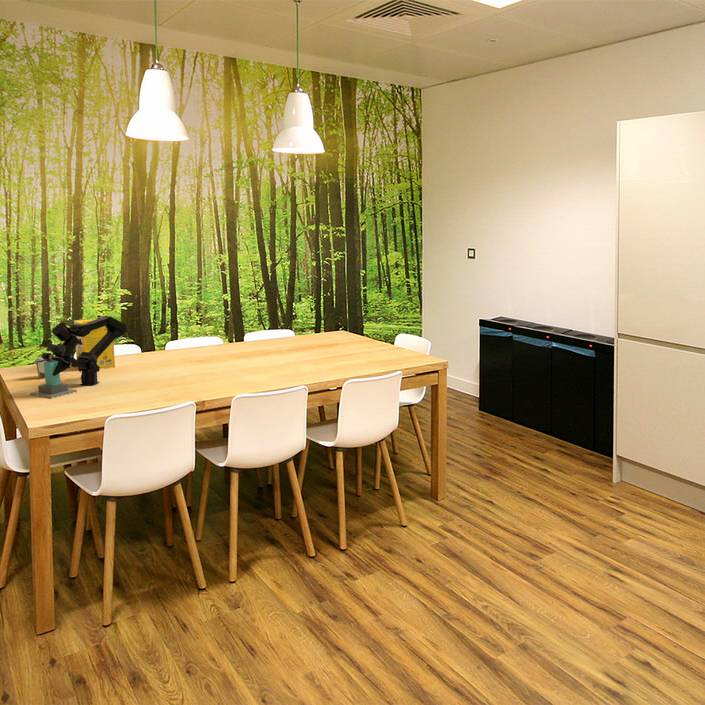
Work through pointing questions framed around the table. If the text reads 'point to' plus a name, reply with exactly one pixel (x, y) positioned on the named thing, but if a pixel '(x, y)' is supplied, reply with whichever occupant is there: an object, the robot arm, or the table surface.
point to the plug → (51, 373)
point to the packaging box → (91, 340)
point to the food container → (40, 367)
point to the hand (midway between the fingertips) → (49, 374)
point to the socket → (53, 390)
